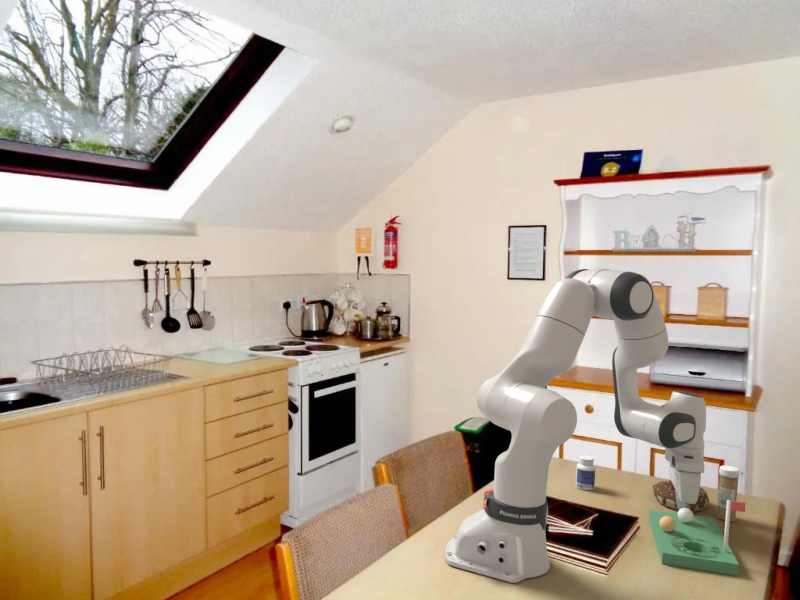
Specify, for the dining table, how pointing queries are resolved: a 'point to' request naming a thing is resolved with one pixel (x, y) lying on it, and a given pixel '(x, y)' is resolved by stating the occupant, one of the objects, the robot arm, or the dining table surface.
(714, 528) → the putting mat
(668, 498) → the donut
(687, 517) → the white ball
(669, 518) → the orange ball
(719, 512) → the sprinkles bottle
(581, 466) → the pill bottle
